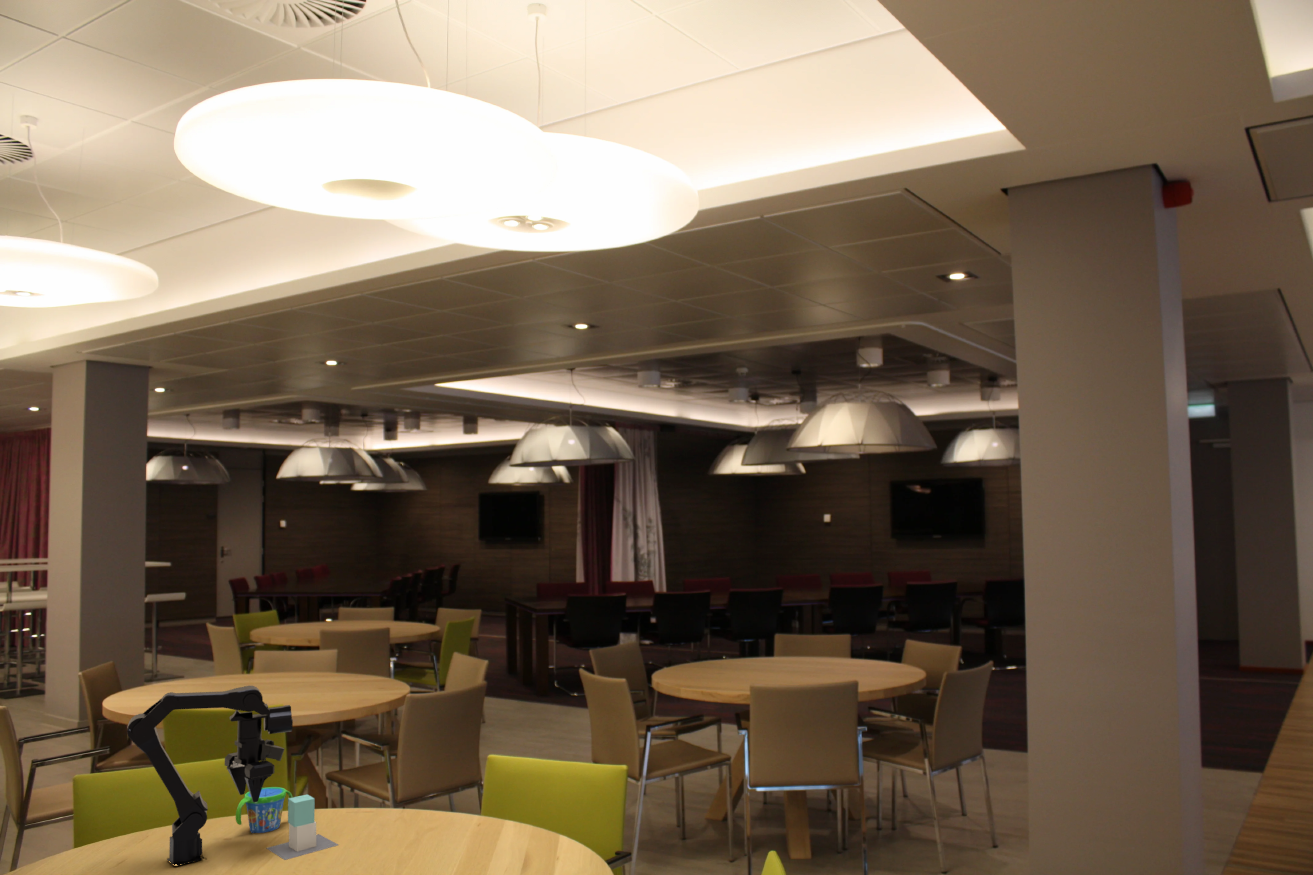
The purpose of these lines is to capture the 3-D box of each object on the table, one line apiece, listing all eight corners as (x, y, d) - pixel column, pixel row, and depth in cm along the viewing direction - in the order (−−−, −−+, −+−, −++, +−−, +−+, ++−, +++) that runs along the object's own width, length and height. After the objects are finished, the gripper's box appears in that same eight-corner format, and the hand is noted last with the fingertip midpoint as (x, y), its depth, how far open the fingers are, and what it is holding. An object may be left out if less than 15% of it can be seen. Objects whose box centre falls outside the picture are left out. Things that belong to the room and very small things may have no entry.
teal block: (294, 826, 238) (294, 802, 239) (287, 822, 242) (288, 798, 242) (314, 822, 241) (314, 798, 242) (307, 817, 245) (307, 794, 246)
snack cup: (285, 818, 266) (285, 781, 266) (301, 827, 258) (301, 789, 259) (228, 832, 255) (228, 794, 255) (242, 842, 247) (243, 802, 248)
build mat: (284, 862, 232) (284, 859, 232) (265, 850, 241) (265, 847, 241) (339, 847, 242) (339, 844, 242) (318, 836, 250) (318, 833, 250)
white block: (297, 851, 238) (297, 826, 238) (288, 846, 241) (289, 822, 242) (316, 846, 241) (316, 822, 242) (307, 841, 245) (308, 817, 245)
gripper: (295, 736, 242) (294, 798, 241) (266, 725, 256) (266, 784, 255) (250, 744, 235) (250, 808, 234) (224, 732, 248) (223, 793, 247)
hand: (248, 797), depth 242 cm, fingers open, 9 cm apart
